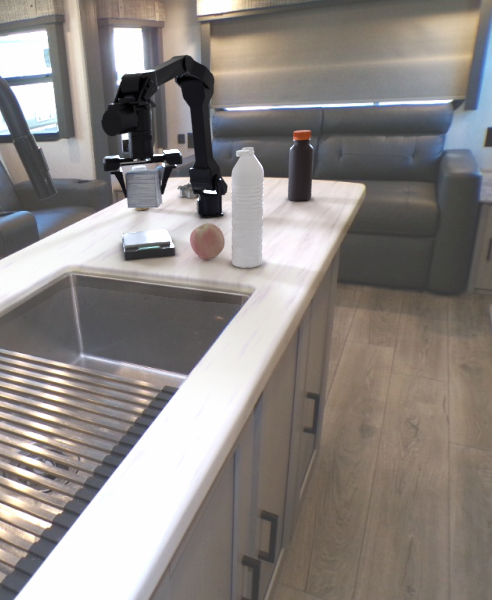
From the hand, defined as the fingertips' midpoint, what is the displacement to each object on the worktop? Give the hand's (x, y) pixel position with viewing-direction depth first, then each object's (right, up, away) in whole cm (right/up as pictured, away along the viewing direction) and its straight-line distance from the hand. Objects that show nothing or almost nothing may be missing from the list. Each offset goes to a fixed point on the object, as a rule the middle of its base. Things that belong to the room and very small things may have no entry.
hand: (144, 195), depth 132 cm
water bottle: (+21, -18, -15) cm, 32 cm away
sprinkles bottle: (+2, +3, +40) cm, 40 cm away
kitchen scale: (+1, -13, +2) cm, 13 cm away
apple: (+14, -16, -8) cm, 23 cm away
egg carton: (+20, +10, +51) cm, 56 cm away
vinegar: (+50, +5, +33) cm, 60 cm away
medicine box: (0, -3, +1) cm, 3 cm away
